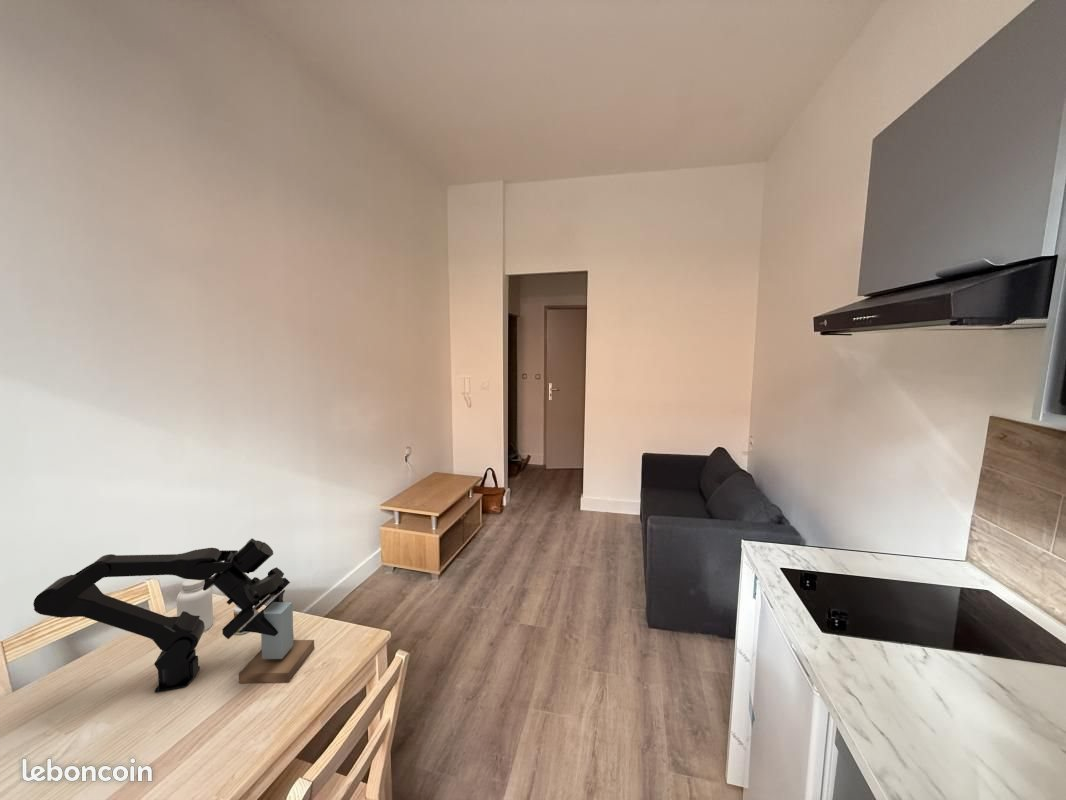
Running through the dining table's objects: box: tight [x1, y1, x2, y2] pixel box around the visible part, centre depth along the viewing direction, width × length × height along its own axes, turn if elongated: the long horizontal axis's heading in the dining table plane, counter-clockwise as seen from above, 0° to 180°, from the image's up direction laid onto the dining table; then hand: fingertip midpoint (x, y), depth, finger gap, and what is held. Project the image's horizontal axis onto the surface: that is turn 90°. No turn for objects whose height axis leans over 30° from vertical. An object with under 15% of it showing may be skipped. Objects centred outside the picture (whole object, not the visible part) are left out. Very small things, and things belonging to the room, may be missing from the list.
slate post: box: [260, 601, 294, 659], centre depth 101 cm, size 5×5×12 cm
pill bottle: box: [176, 579, 214, 632], centre depth 115 cm, size 8×8×15 cm
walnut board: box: [238, 639, 315, 684], centre depth 102 cm, size 12×12×2 cm
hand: (282, 627), depth 101 cm, fingers closed on slate post, 5 cm apart
